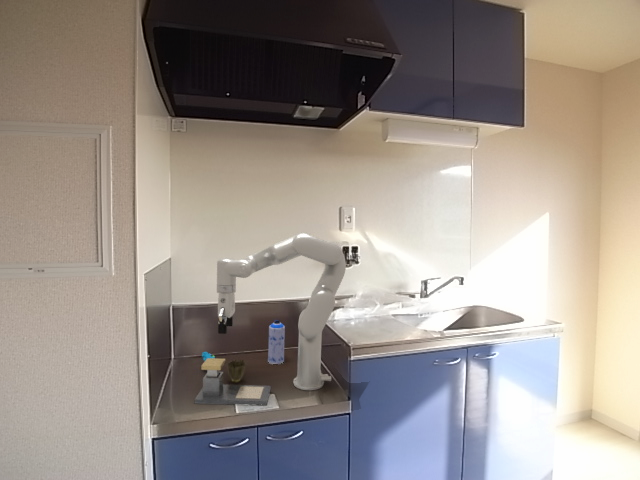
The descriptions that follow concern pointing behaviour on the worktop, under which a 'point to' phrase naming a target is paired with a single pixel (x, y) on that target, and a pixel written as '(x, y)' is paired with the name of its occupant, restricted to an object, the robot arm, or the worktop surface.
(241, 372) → the dark brown rounded piece
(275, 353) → the aerosol can
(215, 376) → the plate
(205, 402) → the base
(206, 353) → the gear
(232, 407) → the worktop surface
